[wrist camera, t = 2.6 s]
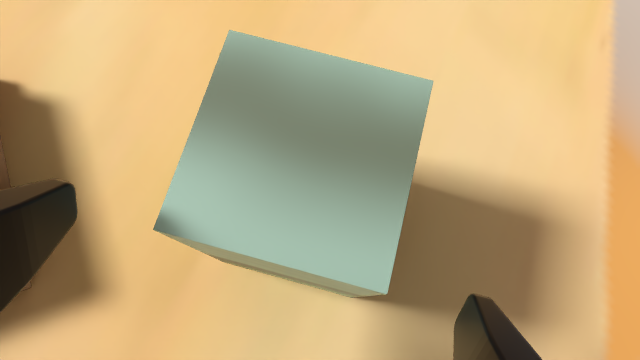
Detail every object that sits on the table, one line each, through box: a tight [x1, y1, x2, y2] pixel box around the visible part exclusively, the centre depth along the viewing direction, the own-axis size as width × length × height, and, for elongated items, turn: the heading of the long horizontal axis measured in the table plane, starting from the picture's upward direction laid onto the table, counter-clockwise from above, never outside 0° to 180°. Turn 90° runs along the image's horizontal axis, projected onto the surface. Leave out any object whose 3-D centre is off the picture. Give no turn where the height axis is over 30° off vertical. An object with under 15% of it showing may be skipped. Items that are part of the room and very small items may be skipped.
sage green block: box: [153, 30, 433, 298], centre depth 16 cm, size 6×6×9 cm
